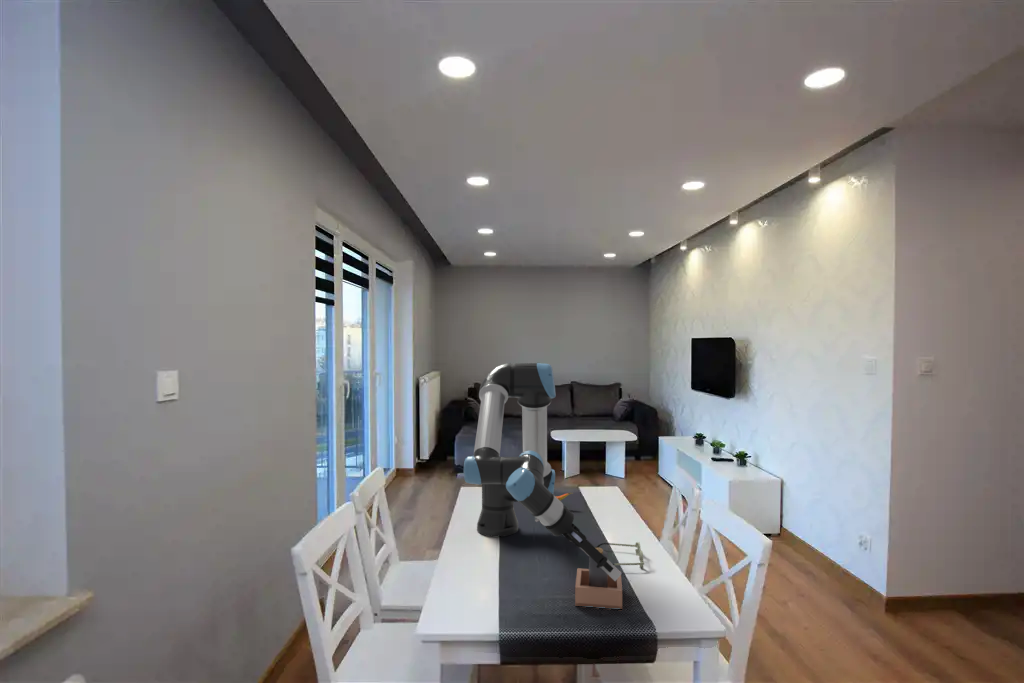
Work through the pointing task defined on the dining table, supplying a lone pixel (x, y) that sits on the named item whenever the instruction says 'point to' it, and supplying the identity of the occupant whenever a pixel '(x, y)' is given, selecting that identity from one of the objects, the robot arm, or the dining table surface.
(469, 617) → the dining table surface
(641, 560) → the sunglasses
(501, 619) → the dining table surface
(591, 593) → the terracotta rectangular open box
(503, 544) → the dining table surface
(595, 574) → the battery cell
